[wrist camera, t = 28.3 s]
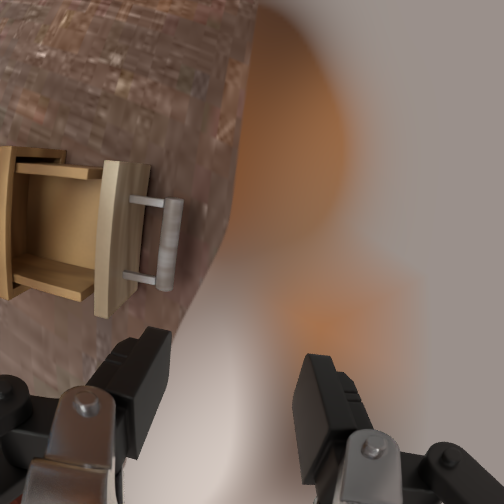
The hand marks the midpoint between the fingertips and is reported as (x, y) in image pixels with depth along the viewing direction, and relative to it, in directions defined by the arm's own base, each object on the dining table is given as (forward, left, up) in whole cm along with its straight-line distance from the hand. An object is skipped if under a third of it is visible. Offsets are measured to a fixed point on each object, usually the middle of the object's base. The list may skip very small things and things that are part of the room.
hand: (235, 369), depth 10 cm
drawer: (+14, 0, -18) cm, 23 cm away
